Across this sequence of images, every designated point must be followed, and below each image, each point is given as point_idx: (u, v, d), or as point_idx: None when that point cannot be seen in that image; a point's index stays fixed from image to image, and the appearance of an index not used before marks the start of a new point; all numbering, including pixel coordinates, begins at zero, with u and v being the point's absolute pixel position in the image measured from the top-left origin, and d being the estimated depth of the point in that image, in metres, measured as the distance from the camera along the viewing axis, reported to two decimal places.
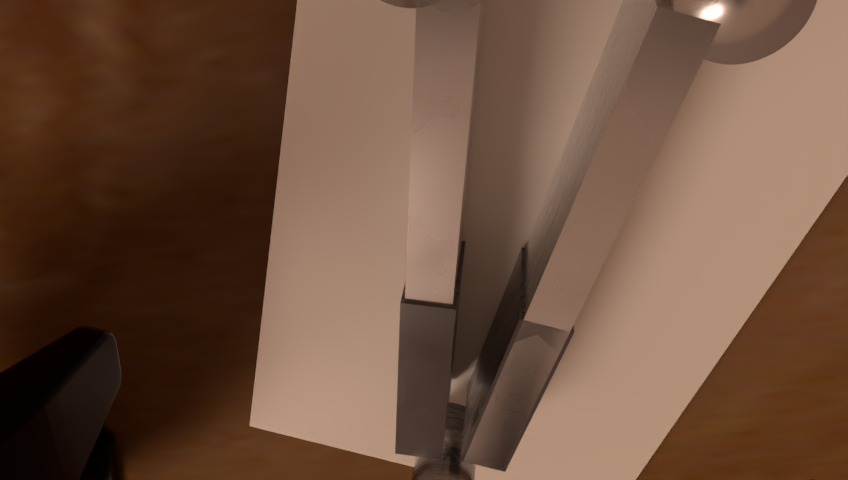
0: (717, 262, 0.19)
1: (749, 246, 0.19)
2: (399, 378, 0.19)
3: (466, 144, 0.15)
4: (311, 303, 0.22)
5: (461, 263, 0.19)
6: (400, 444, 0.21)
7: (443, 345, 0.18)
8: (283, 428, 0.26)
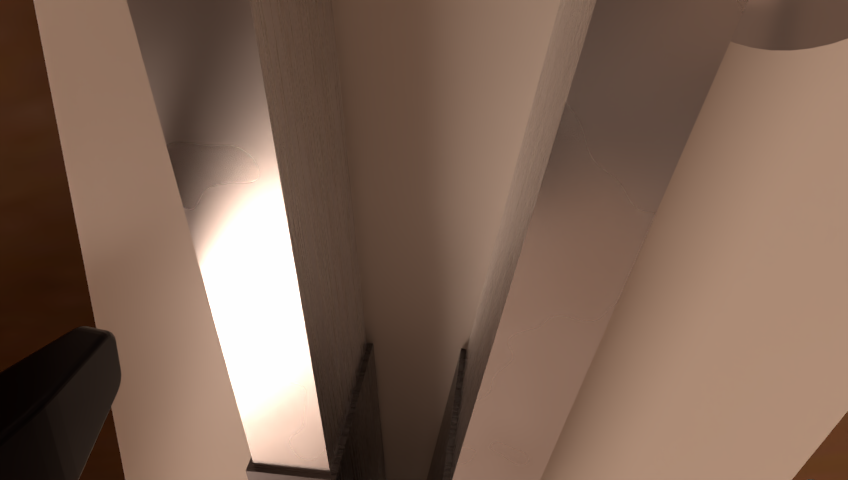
0: (771, 364, 0.12)
1: (824, 340, 0.12)
2: None
3: (286, 228, 0.08)
4: (178, 424, 0.15)
5: (360, 385, 0.12)
6: None
7: None
8: None
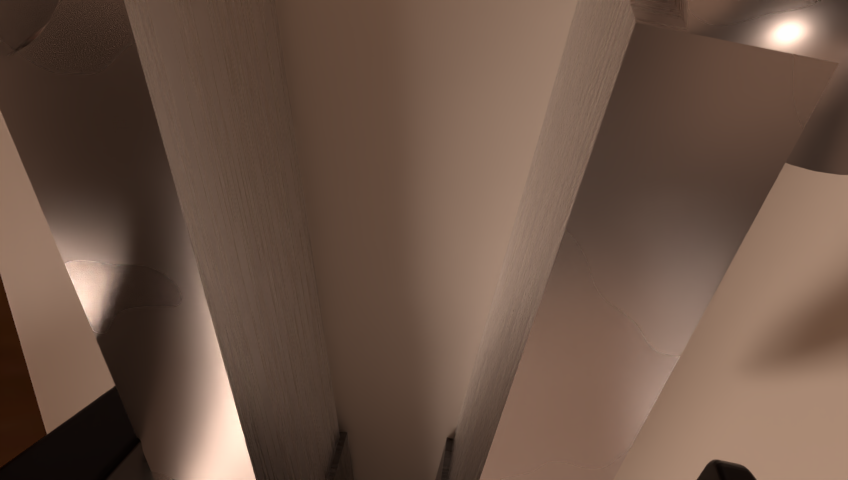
0: (800, 462, 0.11)
1: None
2: None
3: (220, 358, 0.06)
4: None
5: None
6: None
7: None
8: None
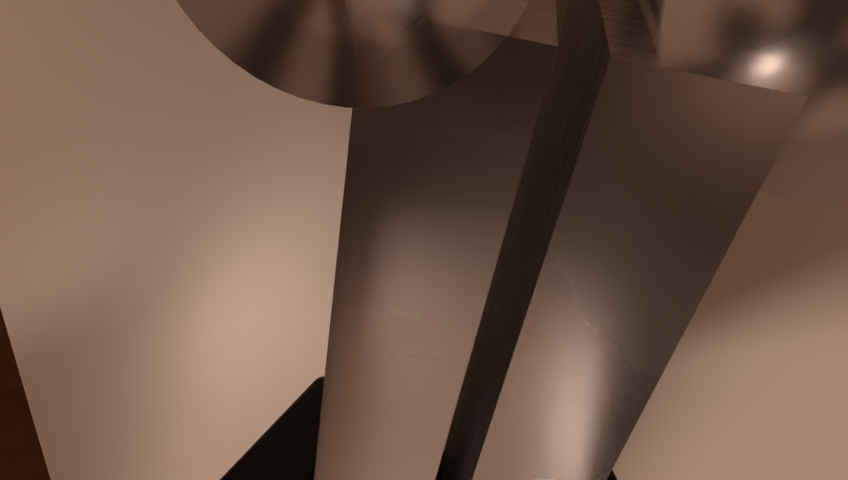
0: (788, 474, 0.11)
1: None
2: None
3: (451, 411, 0.06)
4: None
5: None
6: None
7: None
8: None
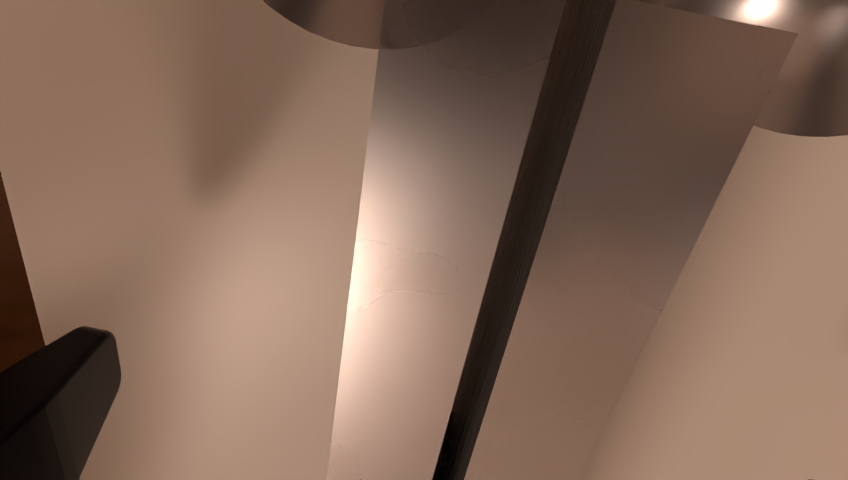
0: (785, 432, 0.11)
1: (843, 409, 0.11)
2: None
3: (466, 348, 0.07)
4: None
5: None
6: None
7: None
8: None
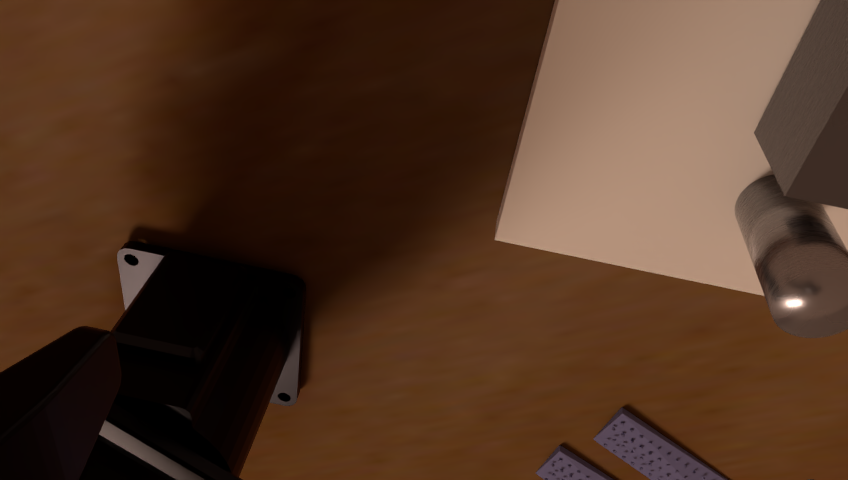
0: None
1: None
2: None
3: None
4: (618, 25, 0.17)
5: None
6: (801, 179, 0.15)
7: None
8: (538, 239, 0.21)
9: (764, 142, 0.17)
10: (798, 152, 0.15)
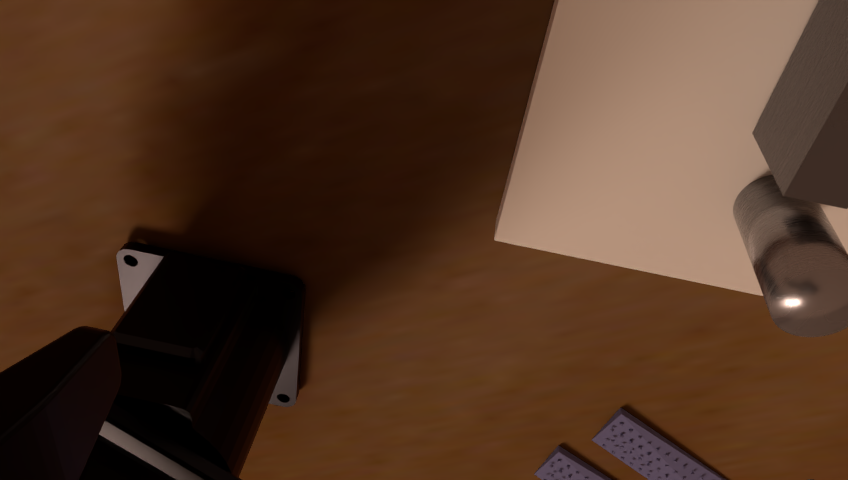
0: None
1: None
2: None
3: None
4: (617, 26, 0.17)
5: None
6: (800, 179, 0.15)
7: None
8: (538, 240, 0.21)
9: (762, 142, 0.17)
10: (796, 152, 0.15)
